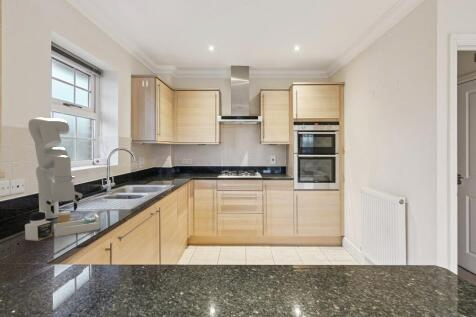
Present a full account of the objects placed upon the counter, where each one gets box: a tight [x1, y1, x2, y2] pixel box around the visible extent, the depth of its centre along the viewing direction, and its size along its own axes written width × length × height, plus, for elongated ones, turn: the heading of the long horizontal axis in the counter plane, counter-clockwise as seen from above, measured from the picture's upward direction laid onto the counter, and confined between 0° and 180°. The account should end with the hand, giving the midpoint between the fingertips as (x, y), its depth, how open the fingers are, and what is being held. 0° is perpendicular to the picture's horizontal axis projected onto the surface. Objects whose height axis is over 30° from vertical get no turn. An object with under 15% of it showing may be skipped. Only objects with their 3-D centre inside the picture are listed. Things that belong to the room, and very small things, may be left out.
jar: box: [57, 210, 71, 223], centre depth 145 cm, size 6×6×8 cm
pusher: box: [83, 216, 95, 224], centre depth 141 cm, size 8×4×4 cm, turn 36°
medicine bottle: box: [24, 211, 53, 242], centre depth 126 cm, size 7×7×12 cm
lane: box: [53, 213, 101, 237], centre depth 138 cm, size 11×19×6 cm, turn 126°
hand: (64, 211), depth 145 cm, fingers open, 9 cm apart
